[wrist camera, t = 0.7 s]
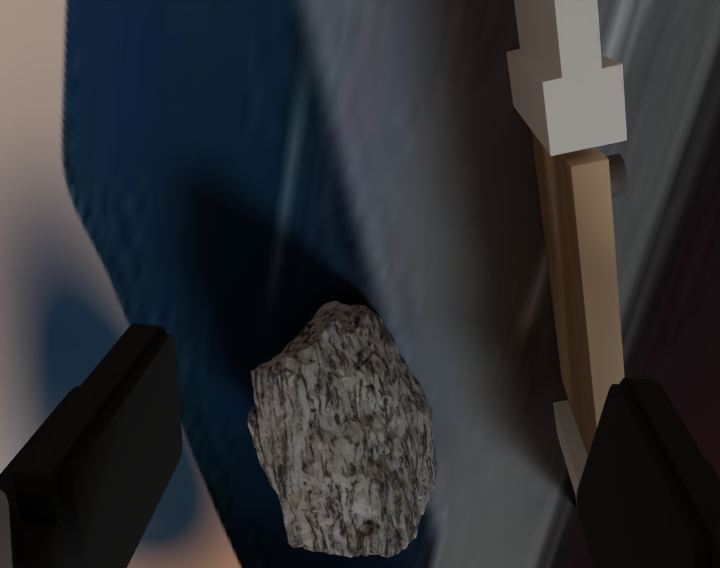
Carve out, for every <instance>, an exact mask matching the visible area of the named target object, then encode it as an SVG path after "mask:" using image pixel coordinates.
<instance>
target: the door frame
mask: <svg viewBox="0 0 720 568" xmlns="http://www.w3.org/2000/svg"><path fill="white" fill-rule="evenodd" d="M514 5H515V13H516V21H517V29H518V38H519V46H520V49H516V50H512V51H508V52H506V54H507V62H508V70H509V77H510V85H511V92H512V100H513V106H514V107H515V109H516V110H517V111H518V113H519V114H520V115H521V117H522V118H523V120H524V121H525V122H526V124H527V125H528V126H529V128H530V129H531V130H532V132H533V133H534V134H535V136H536V137H537V138H538V140H539V141H540V142H541V144H542V145H543V146H544V148H545V149H546V150H547V152H548V153H549V154H550V156H554V155H559V154H563V153H568V152H573V151H578V150H583V149H588V148H592V147H597V146H602V145H607V144H612V143H616V142H621V141H626V140H627V133H626V116H625V99H624V82H623V65H622V64H621V63H619V62H617V61H614V60H612V59H609V58H607V57H605V56H602V55H601V46H600V33H599V19H598V5H597V0H514ZM553 407H554V415H555V422H556V430H557V436H558V439H559V443H560V446H561V449H562V452H563V456H564V459H565V462H566V466H567V469H568V472H569V475H570V479H571V482H572V485H573V489H574V492H575V497H576V496H577V490H578V486H579V483H580V480H581V477H582V473H583V470H584V467H585V464H586V461H587V458H588V455H587V452H586V449H585V446H584V443H583V441H582V438H581V435H580V432H579V429H578V426H577V424H576V421H575V418H574V415H573V412H572V410H571V407H570V404H569V401H568V400H566V401H558V402H553ZM576 505H577V503H576Z"/></svg>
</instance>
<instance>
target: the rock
mask: <svg viewBox="0 0 720 568" xmlns="http://www.w3.org/2000/svg"><path fill="white" fill-rule="evenodd" d="M251 380H252V388H253V393H254V402H255V406H254V407H252V409H251V411H250V412H249V414H248V427H249V429H250V432H251V434H252V437H253V444H254V447H255V448H256V449H257V455H258V459H259V462H260V465H261V466H262V468H263V470H264V471H265V473H266V475H267V476H268V480H269V483H270V484H271V486H272V487H273V488H274V490H275V491H276V492H277V494H278V497H279V500H280V503H281V508H282V512H283V519H284V524H285V528H286V532H287V536H288V544H289V545H291V546H292V547H293V548H295V547H301V546H302V547H303V548H304V549H307V550H310V551H313V552H318V551H319V552H326V553H327V554H336V555H341V556H346V557H353V556H354V557H357V556H359V555H360V554H363V555H364V556H365V557H366V556H369V555H373V554H378V555H381V556H384V557H388V558H389V557H391V556H394V555H396V554H399V553H400V552H401V551H402V550H403V549H406V548H407V545H408V544H409V543H410V542H411V541H412V540H413V539H414V538H416V536H417V532H418V524H419V521H420V519H421V516H422V515H423V514H424V510H425V506H426V504H427V502H428V501H429V499H430V493H431V492H432V491H433V489H434V481H435V477H436V474H437V469H436V465H437V458H436V453H435V449H434V430H433V419H432V413H431V409H430V407H429V405H428V403H427V401H426V398H425V395H424V392H423V390H422V389H421V388H420V386H419V385H418V384H417V383H416V381H415V380H414V378H413V375H412V373H411V371H410V369H409V367H408V366H407V364H406V362H405V361H404V360H403V359H402V357H401V356H400V355H399V352H398V349H397V347H396V344H395V341H394V339H393V338H392V336H391V335H390V334H389V332H388V331H387V330H386V329H385V328H384V327H383V322H382V319H381V318H380V317H379V316H378V315H377V314H376V313H374V312H373V311H371V310H370V309H369V308H368V307H367V306H365V305H359V304H356V305H347V304H343V303H340V302H338V301H332V302H329V303H326V304H325V305H324V306H322V307H321V308H320V309H319V310H318V311H317V313H316V314H315V315H314V317H313V318H312V319H311V321H310V322H309V323H308V324H307V325H306V327H305V328H304V329H303V331H302V332H301V333H300V334H299V335H298V336H297V337H295V338H294V339H293V340H291V341H289V343H288V344H287V346H286V347H285V348H284V350H283V351H282V353H280V354H278V355H277V356H275V357H274V358H272V360H271V361H268V362H266V363H264V364H261V365H259V366H258V367H257V368H256V369H255V370H253V371H251Z"/></svg>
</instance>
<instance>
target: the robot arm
mask: <svg viewBox="0 0 720 568" xmlns="http://www.w3.org/2000/svg"><path fill="white" fill-rule="evenodd" d="M181 452H182V431H181V417H180V403H179V388H178V374H177V360H176V346H175V338H174V336H173V335H168V334H166V330H165V328H164V327H163V326H155V325H146V324H136V323H135V324H132V325H131V326H130V327H129V328H128V329H127V330H126V331H125V333H124V334H123V335H122V336H121V337H120V339H119V340H118V341H117V342H116V344H115V345H114V346H113V347H112V349H111V350H110V351H109V352H108V353H107V354H106V356H105V357H104V358H103V359H102V360H101V362H100V363H99V364H98V365H97V367H96V368H95V369H94V370H93V371H92V373H91V374H90V375H89V376H88V378H87V379H86V380H85V381H84V382H83V384H82V385H81V386H77V387H74V389H72V390H71V391H70V392H69V393H68V394H67V395H66V397H65V398H64V399H63V400H62V401H61V403H60V404H59V405H58V406H57V407H56V409H55V410H54V411H53V412H52V413H51V414H50V416H49V417H48V418H47V419H46V420H45V421H44V423H43V424H42V425H41V426H40V427H39V429H38V430H37V431H36V432H35V433H34V435H33V436H32V437H31V438H30V439H29V441H28V442H27V443H26V444H25V445H24V447H23V448H22V449H21V450H20V451H19V453H18V454H17V455H16V456H15V457H14V459H13V460H12V461H11V462H10V463H9V464H8V466H7V467H6V468H5V469H4V470H3V472H2V473H1V474H0V568H127V566H128V564H129V562H130V560H131V558H132V556H133V554H134V552H135V550H136V548H137V546H138V544H139V541H140V540H141V538H142V536H143V534H144V532H145V530H146V527H147V526H148V523H149V521H150V519H151V517H152V515H153V513H154V511H155V509H156V507H157V505H158V503H159V501H160V499H161V497H162V495H163V493H164V491H165V489H166V487H167V485H168V483H169V481H170V479H171V477H172V475H173V472H174V471H175V469H176V467H177V465H178V462H179V460H180V457H181ZM576 503H577V510H578V514H579V517H580V520H581V524H582V527H583V530H584V534H585V537H586V540H587V544H588V547H589V551H590V554H591V557H592V561H593V564H594V567H595V568H720V479H719V478H718V476H717V474H716V473H715V471H714V469H713V468H712V466H711V465H710V464H709V462H708V461H707V460H706V459H705V458H704V457H703V455H702V453H701V452H700V450H699V448H698V447H697V445H696V443H695V441H694V440H693V438H692V436H691V435H690V433H689V431H688V430H687V428H686V426H685V425H684V423H683V421H682V420H681V418H680V416H679V415H678V413H677V411H676V410H675V408H674V406H673V404H672V403H671V401H670V399H669V398H668V396H667V394H666V393H665V391H664V389H663V388H662V386H661V384H660V383H659V382H658V381H655V380H648V379H639V378H629V377H625V378H623V379H622V380H621V381H620V384H612V385H611V386H610V388H609V391H608V394H607V397H606V400H605V404H604V407H603V410H602V413H601V416H600V419H599V423H598V426H597V429H596V432H595V435H594V438H593V442H592V445H591V448H590V451H589V454H588V458H587V461H586V464H585V467H584V470H583V473H582V477H581V480H580V483H579V486H578V490H577V496H576Z"/></svg>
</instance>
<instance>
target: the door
mask: <svg viewBox="0 0 720 568" xmlns="http://www.w3.org/2000/svg"><path fill="white" fill-rule="evenodd" d="M531 133H532V141H533V149H534V157H535V165H536V173H537V182H538V190H539V198H540V206H541V214H542V222H543V230H544V238H545V246H546V254H547V263H548V271H549V279H550V287H551V295H552V303H553V311H554V319H555V327H556V336H557V344H558V352H559V360H560V368H561V381H562V384H563V387H564V390H565V393H566V395H567V398H568V401H569V404H570V407H571V410H572V412H573V415H574V418H575V421H576V424H577V426H578V429H579V432H580V435H581V438H582V441H583V443H584V446H585V449H586V452H587V455H588V454H589V451H590V448H591V445H592V442H593V438H594V435H595V432H596V429H597V426H598V423H599V419H600V416H601V413H602V410H603V407H604V404H605V400H606V397H607V394H608V391H609V388H610V386H611V385H612V384H620V381H621V380H622V379H623V378H624V365H623V351H622V337H621V324H620V310H619V296H618V282H617V268H616V254H615V240H614V227H613V213H612V199H611V197H612V196H617V195H622V194H625V193H626V191H627V173H626V168H625V164H624V161H623V158H622V156H621V155H620V154H615V155H610V156H605V155H604V154H603V153H602V152H601V151H599V150H598V149H597V148H596V147H592V148H588V149H583V150H578V151H573V152H568V153H563V154H559V155H554V156H550V154H549V153H548V152H547V150H546V149H545V148H544V146H543V145H542V144H541V142H540V141H539V140H538V138H537V137H536V136H535V134H534V133H533V132H532V130H531Z"/></svg>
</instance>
